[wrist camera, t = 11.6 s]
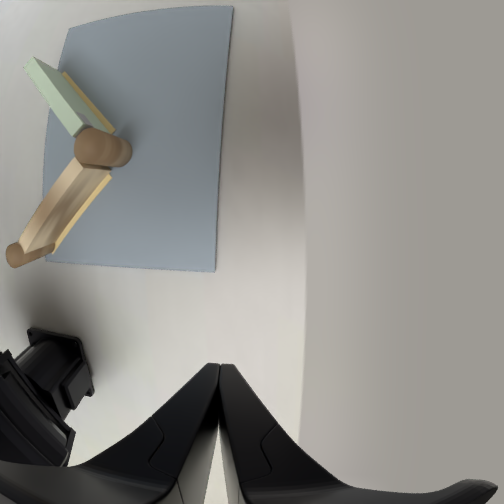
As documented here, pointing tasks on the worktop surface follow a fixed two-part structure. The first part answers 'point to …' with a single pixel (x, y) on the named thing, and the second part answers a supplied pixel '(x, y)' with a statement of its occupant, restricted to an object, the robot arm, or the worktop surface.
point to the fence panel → (62, 98)
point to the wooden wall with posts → (69, 193)
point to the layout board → (148, 137)
